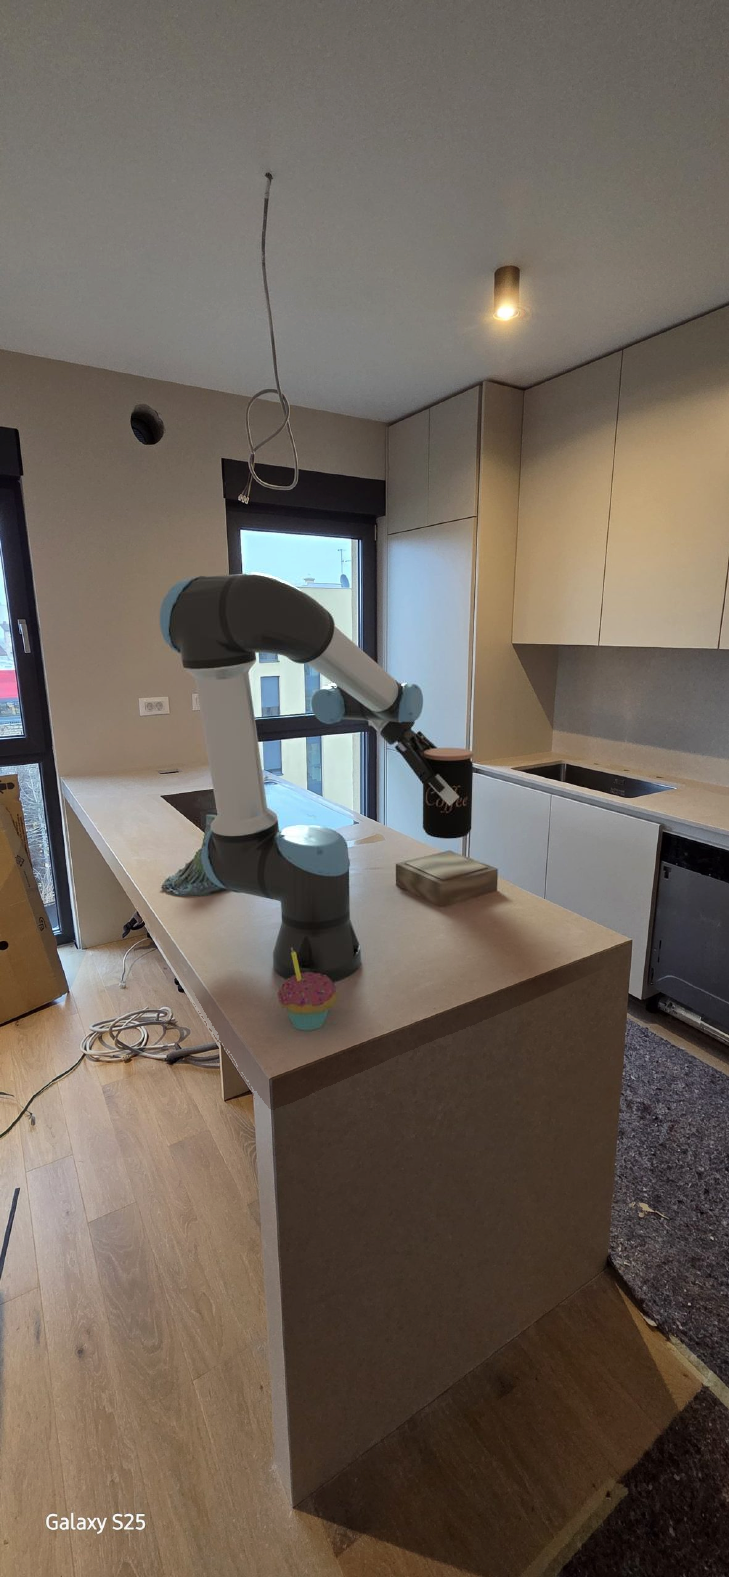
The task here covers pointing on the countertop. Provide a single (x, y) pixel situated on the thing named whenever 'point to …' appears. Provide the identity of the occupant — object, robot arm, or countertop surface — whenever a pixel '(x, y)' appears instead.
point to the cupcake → (307, 997)
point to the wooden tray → (446, 877)
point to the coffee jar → (458, 776)
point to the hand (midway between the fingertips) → (460, 795)
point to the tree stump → (193, 875)
